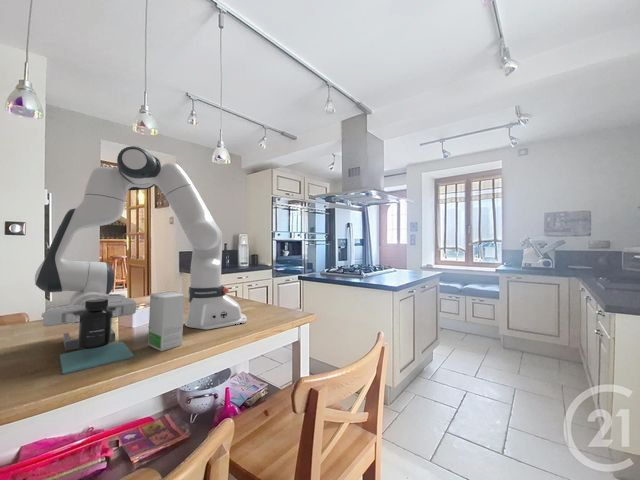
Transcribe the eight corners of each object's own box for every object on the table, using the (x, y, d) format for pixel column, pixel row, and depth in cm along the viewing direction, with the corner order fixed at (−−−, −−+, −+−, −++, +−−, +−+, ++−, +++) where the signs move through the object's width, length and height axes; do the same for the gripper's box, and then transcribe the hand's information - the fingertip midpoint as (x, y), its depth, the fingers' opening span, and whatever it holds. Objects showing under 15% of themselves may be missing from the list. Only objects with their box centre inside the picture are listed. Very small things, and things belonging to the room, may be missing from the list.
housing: (63, 341, 85) (63, 333, 85) (109, 333, 93) (109, 325, 93) (65, 350, 78) (65, 342, 78) (114, 340, 86) (115, 332, 86)
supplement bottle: (92, 350, 70) (93, 303, 70) (71, 348, 71) (72, 302, 71) (117, 341, 76) (118, 298, 77) (97, 340, 78) (98, 297, 78)
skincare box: (147, 345, 82) (148, 293, 82) (169, 339, 88) (170, 290, 88) (161, 352, 78) (162, 296, 78) (184, 344, 83) (185, 293, 83)
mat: (59, 356, 74) (59, 354, 74) (122, 343, 84) (122, 341, 84) (62, 374, 64) (62, 371, 64) (133, 357, 74) (133, 354, 74)
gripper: (41, 302, 76) (41, 311, 66) (130, 293, 90) (140, 300, 81) (41, 325, 76) (40, 337, 66) (129, 312, 90) (140, 321, 80)
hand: (96, 317), depth 73 cm, fingers closed on supplement bottle, 7 cm apart
